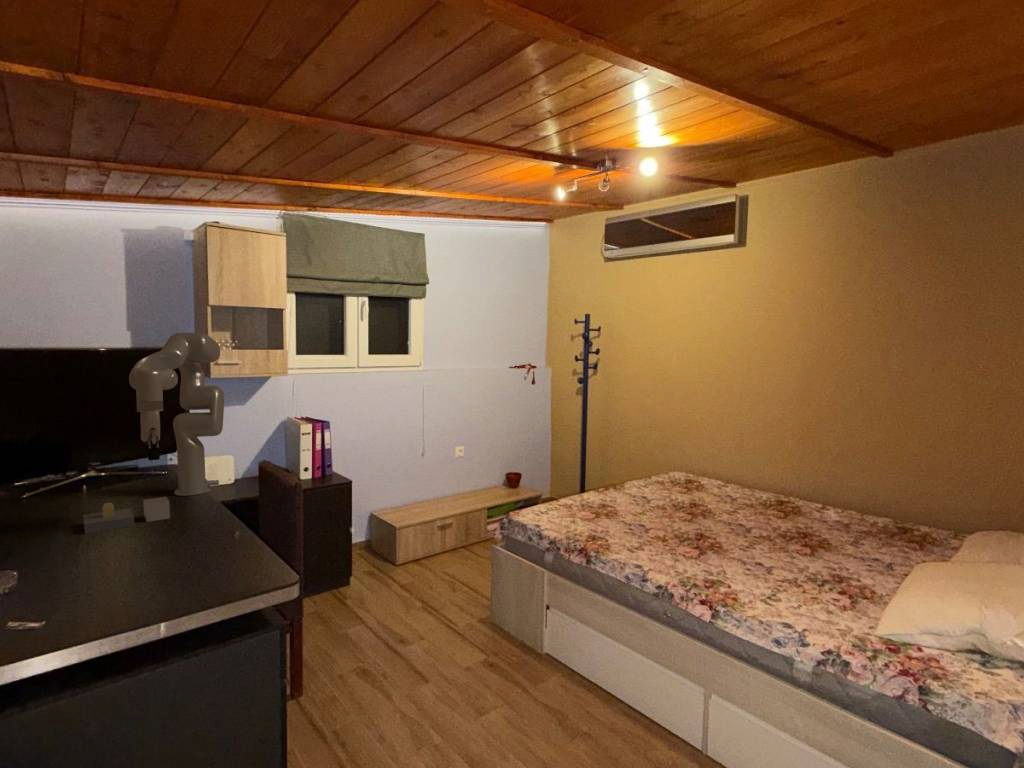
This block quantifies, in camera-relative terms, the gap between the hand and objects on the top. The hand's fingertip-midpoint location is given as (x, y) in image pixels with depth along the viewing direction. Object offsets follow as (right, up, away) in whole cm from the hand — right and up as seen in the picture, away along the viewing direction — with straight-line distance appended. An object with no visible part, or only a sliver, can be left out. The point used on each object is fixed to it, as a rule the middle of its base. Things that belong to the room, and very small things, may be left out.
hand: (152, 457), depth 203 cm
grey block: (-10, -21, -7) cm, 24 cm away
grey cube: (+1, -20, +2) cm, 20 cm away
